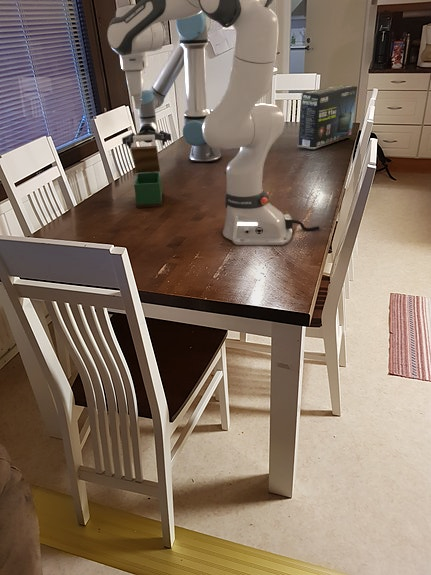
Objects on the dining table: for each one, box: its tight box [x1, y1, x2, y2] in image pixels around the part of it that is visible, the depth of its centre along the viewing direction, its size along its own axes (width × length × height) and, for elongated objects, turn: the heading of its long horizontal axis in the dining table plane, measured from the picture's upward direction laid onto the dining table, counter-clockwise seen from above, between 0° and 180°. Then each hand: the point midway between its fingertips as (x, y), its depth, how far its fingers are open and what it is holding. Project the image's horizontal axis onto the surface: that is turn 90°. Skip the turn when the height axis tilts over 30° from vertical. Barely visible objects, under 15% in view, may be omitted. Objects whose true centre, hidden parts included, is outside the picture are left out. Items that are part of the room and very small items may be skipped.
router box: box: [297, 84, 358, 151], centre depth 238 cm, size 36×11×27 cm, turn 134°
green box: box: [133, 171, 163, 209], centre depth 177 cm, size 14×9×9 cm
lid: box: [130, 135, 161, 174], centre depth 174 cm, size 14×9×8 cm
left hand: (146, 143), depth 184 cm, fingers open, 13 cm apart
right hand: (139, 106), depth 159 cm, fingers open, 8 cm apart
